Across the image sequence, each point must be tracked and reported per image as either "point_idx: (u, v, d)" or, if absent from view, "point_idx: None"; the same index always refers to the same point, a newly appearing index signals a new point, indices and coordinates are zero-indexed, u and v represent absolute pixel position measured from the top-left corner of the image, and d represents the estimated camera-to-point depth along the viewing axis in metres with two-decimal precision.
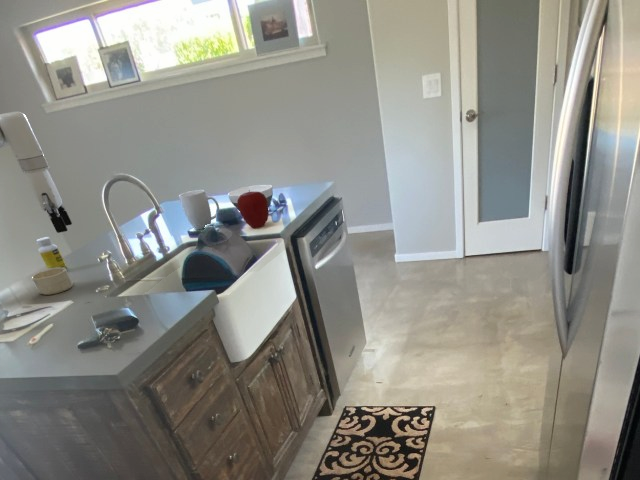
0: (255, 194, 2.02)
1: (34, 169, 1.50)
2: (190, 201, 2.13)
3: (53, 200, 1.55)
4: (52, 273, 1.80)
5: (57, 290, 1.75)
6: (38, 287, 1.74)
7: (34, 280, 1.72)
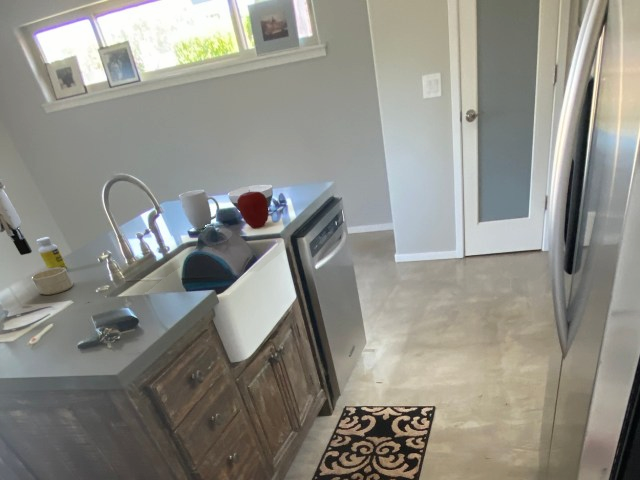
0: (255, 194, 2.02)
1: None
2: (190, 201, 2.13)
3: (9, 221, 1.51)
4: (52, 273, 1.80)
5: (57, 290, 1.75)
6: (38, 287, 1.74)
7: (34, 280, 1.72)
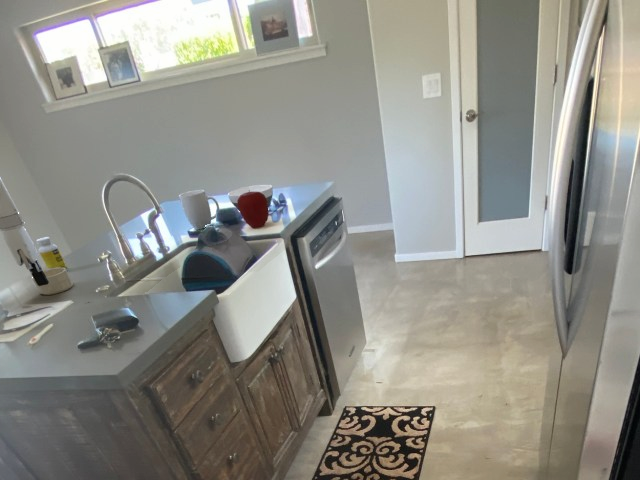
0: (255, 194, 2.02)
1: (9, 227, 1.53)
2: (190, 201, 2.13)
3: (28, 256, 1.58)
4: (52, 273, 1.80)
5: (57, 290, 1.75)
6: (38, 287, 1.74)
7: (34, 280, 1.72)
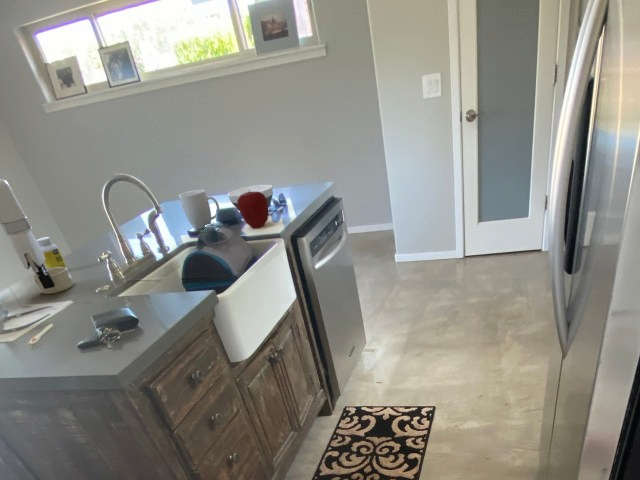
0: (255, 194, 2.02)
1: (16, 232, 1.58)
2: (190, 201, 2.13)
3: (35, 259, 1.62)
4: (53, 272, 1.80)
5: (58, 289, 1.75)
6: (39, 286, 1.74)
7: (35, 279, 1.73)
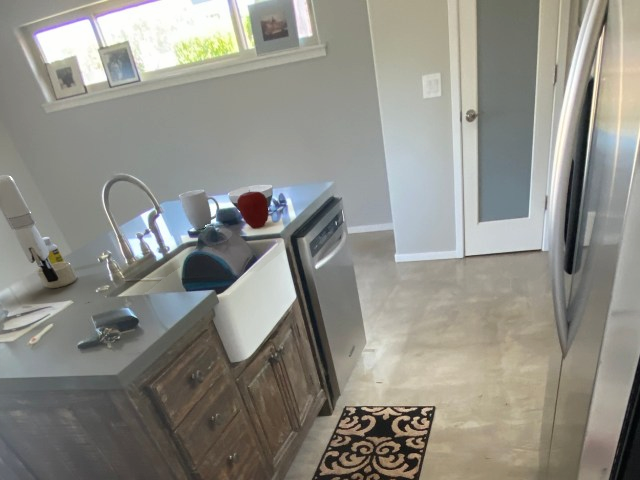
0: (255, 194, 2.02)
1: (21, 226, 1.63)
2: (190, 201, 2.13)
3: (39, 253, 1.67)
4: (56, 267, 1.85)
5: (62, 283, 1.80)
6: (43, 281, 1.79)
7: (39, 274, 1.78)
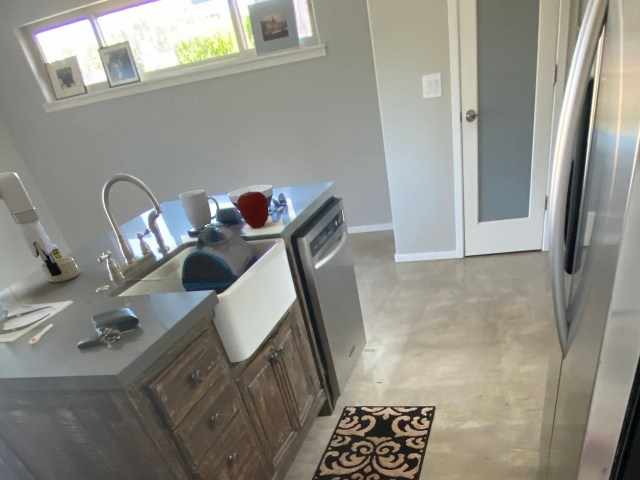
0: (255, 194, 2.02)
1: (26, 222, 1.68)
2: (190, 201, 2.13)
3: (44, 248, 1.72)
4: (59, 262, 1.90)
5: (65, 278, 1.85)
6: (47, 275, 1.84)
7: (43, 268, 1.83)
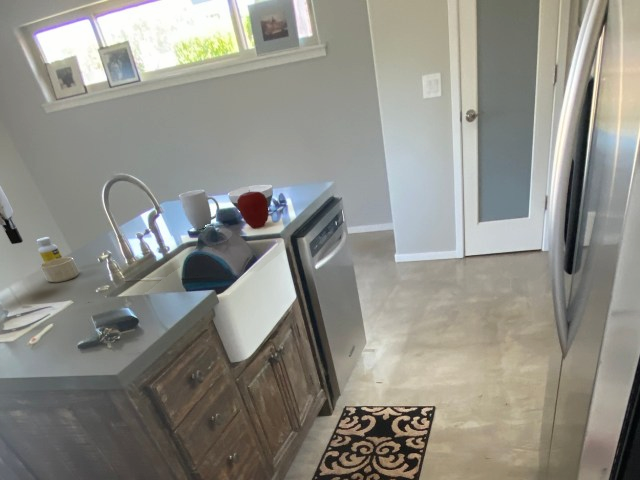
0: (255, 194, 2.02)
1: None
2: (190, 201, 2.13)
3: (2, 211, 1.56)
4: (59, 262, 1.90)
5: (65, 278, 1.85)
6: (47, 275, 1.84)
7: (43, 268, 1.83)
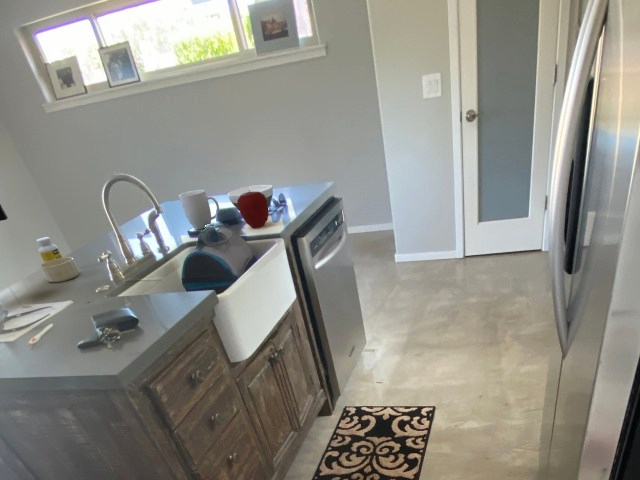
0: (255, 194, 2.02)
1: None
2: (190, 201, 2.13)
3: None
4: (59, 262, 1.90)
5: (65, 278, 1.85)
6: (47, 275, 1.84)
7: (43, 268, 1.83)
